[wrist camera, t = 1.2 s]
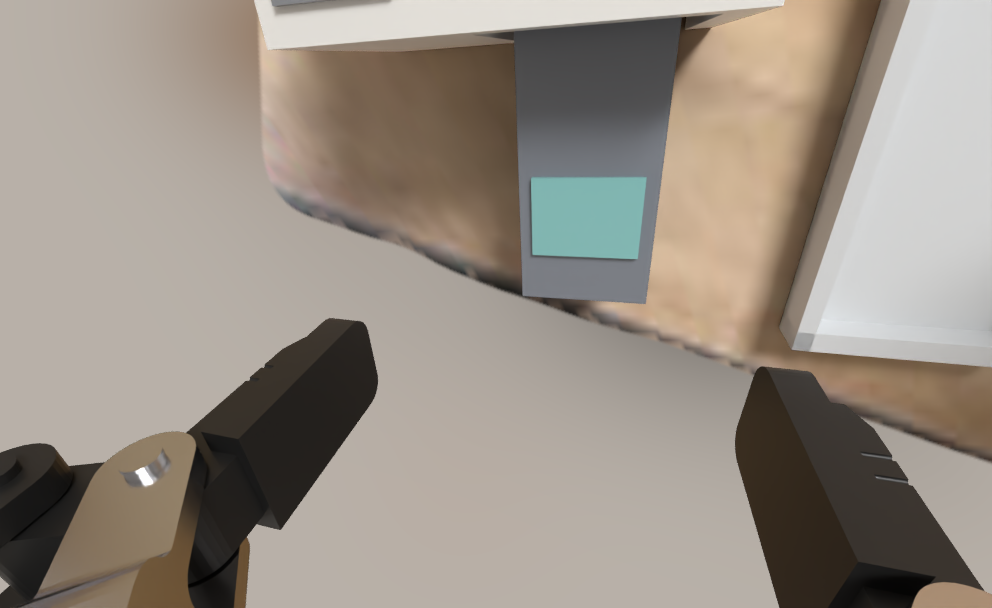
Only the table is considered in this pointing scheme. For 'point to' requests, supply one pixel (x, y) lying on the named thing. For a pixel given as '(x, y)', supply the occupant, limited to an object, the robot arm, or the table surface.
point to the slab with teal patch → (592, 155)
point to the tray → (907, 198)
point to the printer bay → (466, 20)
